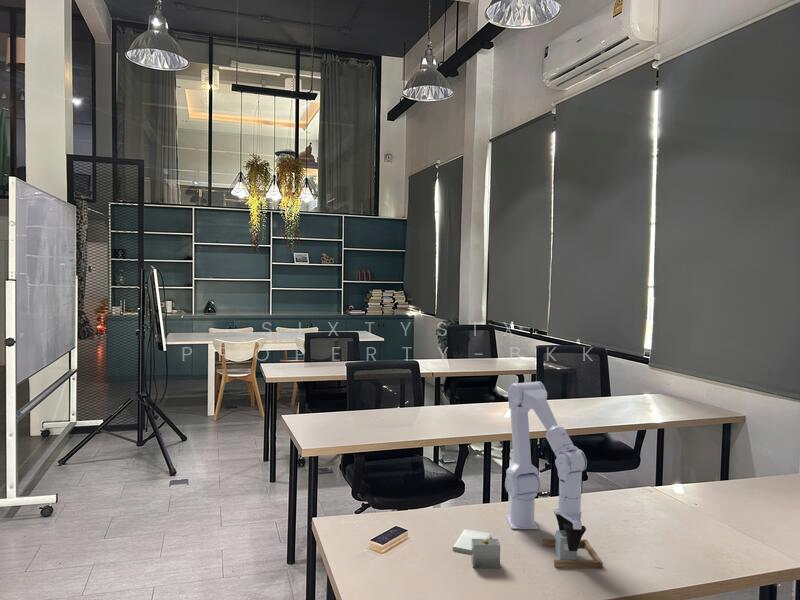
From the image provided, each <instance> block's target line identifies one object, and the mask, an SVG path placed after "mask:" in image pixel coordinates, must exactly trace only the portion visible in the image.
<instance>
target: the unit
mask: <svg viewBox="0 0 800 600" xmlns="http://www.w3.org/2000/svg"><path fill="white" fill-rule="evenodd" d="M470 555H471V561H472V562H471V564H472V565H473V566H472V568H474V569H476V568H479V569H480V568H481V567H482V568H481V569H500V568H501V543H500V540H499V539H498V538H490V539H472V551H471V554H470ZM484 567H485V568H484Z"/></svg>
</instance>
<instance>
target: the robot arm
mask: <svg viewBox="0 0 800 600" xmlns="http://www.w3.org/2000/svg"><path fill="white" fill-rule="evenodd" d="M509 386H510V387H508V388H507V396H508V397H507V399H508V409H509V411H510V426H511V441H512V442H511V443H512V444H511V445H512V455H513V456H512V459H513V463H512V464H511V465H510V466H509V467H508V468H507V469H506V470H505V471H506V472H505V473H506V476H505V481H504V488H505V490H506V493H508V495H509V504H508V505H509V511H508V514H506V515H505V517H506V520H507V522H508V524H509V526H510V529H512V530H538V529H539V527H538V525H537V524H536V522H535V505H536V504H535V502H536V501H535V500H536V497H537V496H538V493H539V492H540V491H541V488H542V482H541V478H540V475H539V469H538V468H537V467H536V466H535V465H533V464H532V456H531V455H532V454H531V453H532V452H531V439H530V424H529V412H530V411H531V410H533V411H534V413H535V415H536V416H537V418H538V419H539V421H540V422H541V424H542V425H543V427H544V428H545V430H546V433H545V438H546V440H547V442H548V444H549V445H550V448H551V450H552V451H553V453H554V455H555V457H556V459H555V460H554V464H555V466H556V469H557V476H558V478H559V484H558V485H559V486H558V487H559V490H558V491H559V493H558V507H557V508H555V509H553V513H554V515H555V518H556V520H557V525H558V530H565V531H566V535H567V543H568V549H569V551H577V552H578V549H579V547H580V546H579V543H580V540H582V537H583V535H584V534H585V533H586V531H587V528H586V526H585V525H582V524H583V522H582V510H581V509H582V507H581V506H582V481H583V479H582V477H583V471H586V469H587V466H588V465H587V464H588V460H587V458H586V457H587V456H586V454H585V453H584V451H583V450H582V449H579V448H578V447H577V446H575V445H574V443H573V441H572V440H571V438H570V436H569V434H568V433H567V430H566V429H565V427H563V426H560V425H559V424H558V422H557V420H556V417H555V416H554V414H553V412H552V410H551V409H552V408H551V407H550V405H549V403H548V391H547V390H546V387H545V385H544V383H542V381H540V380H539V381H538V380H537V381H531V382H513V383H511V385H509Z"/></svg>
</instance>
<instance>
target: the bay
mask: <svg viewBox="0 0 800 600" xmlns="http://www.w3.org/2000/svg"><path fill="white" fill-rule="evenodd" d="M541 540H542V543H541V544H542V546H545V547H549V546H550V547H555V545H556V538H542V539H541ZM579 547H584V549H585V550H586V552H587V551H588V552H587V553H588V554H589V556H590V558H591V559H592V560H589V559H587V560H583V559H582V560H581V559H580V560H579V559H577V560H561V559H553V567H554V568H571V569H572V568H575V569H576V568H581V569H603V563H604V562H603V561H602V560H601V558H600V556H599V555H598V554H597V552H596V550H594V547H592V545H591V544H590V542H589V541H588V539H581V540H580V543H579Z"/></svg>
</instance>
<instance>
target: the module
mask: <svg viewBox="0 0 800 600" xmlns="http://www.w3.org/2000/svg"><path fill="white" fill-rule="evenodd" d="M555 539H556V545H555V546H554V547H555V553H556V556H557V557H558V560H570V559H571V560H578V559H577V557H578V555H577V554H578V550H577V551H569V549H568V543H567V535H566V531H565V530H559V529H556V530H555Z"/></svg>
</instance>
